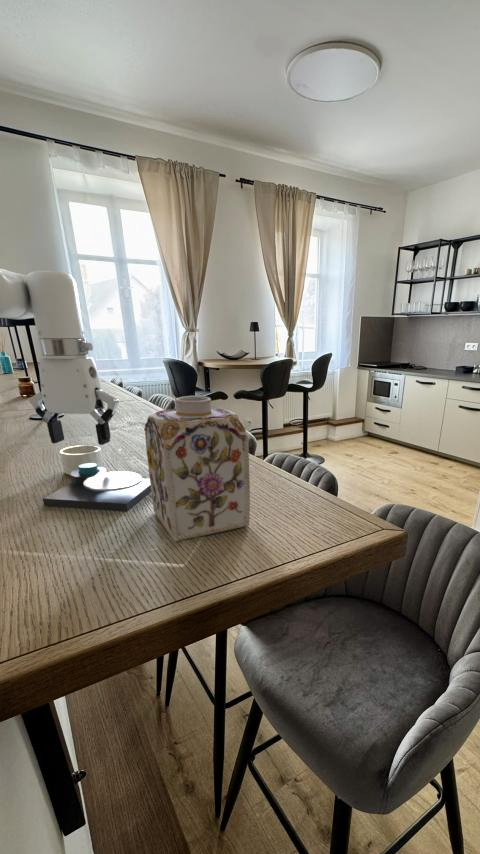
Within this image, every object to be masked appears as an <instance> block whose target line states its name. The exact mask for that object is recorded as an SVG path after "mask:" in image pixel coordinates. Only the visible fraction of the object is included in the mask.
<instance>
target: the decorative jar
mask: <svg viewBox="0 0 480 854" xmlns="http://www.w3.org/2000/svg"><path fill="white" fill-rule="evenodd" d="M143 431H144V437H145V438H144V439H145V450H146V458H147V465H148V466H147V467H148V476H149V479H150V487H151V492H150V495H151V499H152V506H153V507H152V508H153V512H154V514H155V516H156V517H157V519H158V520H159V521H160V522H161V524H162V525H163V527H164V529H165V530H166V532H167V533H168V534H169V536H170V537H171V539H172V541H173V542H175V543H176V542H177V543H178V542H180V541H185V540H188V539H189V540H190V539H194V538H200V537H203V536H208V535H213V534H217V533H222V532H227V531H233V530H236V529H240V528H241V529H242V528H244V527H248V526H249V525H250V518H251V516H250V515H251V501H250V500H251V484H250V483H251V481H250V479H251V477H250V454H249V453H250V449H249V448H250V447H249V434H248V433H247V430H246V427H245V426H244V424H243V423H242V421H241V419H240V417H239V414H237V413H236V412H233V411H231V410H228V409H225V408H224V409H223V408H219V407H212V399H211V397H209V396H202V395H185V396H180V397H177V398H175V408H169V409H162V410H158V411H156V412H154V413H152V414H149V415H148V416H147V419H146V423H145V424H144V428H143Z"/></svg>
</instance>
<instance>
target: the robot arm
mask: <svg viewBox="0 0 480 854" xmlns="http://www.w3.org/2000/svg"><path fill="white" fill-rule="evenodd" d="M80 305H81V304H80V299H79V292H78V287H77V282H76V281H75V279H74V277H73V276H72V275H71V274H69V273H66V272H62V271H55V270H34V271H30V272H29V273H28V274H22V273H18V272H13V271H10V270H7V269H4V268H1V267H0V318H1V319H8V320H27V319H34V324H35V329H36V334H37V339H38V344H39V349H40V354H41V357H39V361H38V362H39V364H38V365H39V368H38V369H39V371H38V372H39V382H40V391H39V392H37V393H36V394H34V395H32V396H30V397H29V399H28V402H29V403H30V404H31V406H32V408H33V409H34V410H35V413H36V414H37V415H38V416H39V417H40V418H41V419H42V421H43V423H45V424H46V427H47V430H48V435H49V438H50V442H51V444H58V443H60V442H62V441H65V435H64V429H63V424H62V421H61V419H59V416H61V414H66V415H67V414H69V415H70V414H71V415H77V414H78V415H90V416H91V417H92V418H93V419H94V420H95V421H96V422H97V424H95V432H96V437H97V443H98V445H99V446H103V445H106V444H108V443H110V441H111V437H112V436H111V429H110V423H109V422H110V421H111V420H112V418H113V417H114V415H115V414H116V413H117V411H116V410H117V408H118V406H119V404H120V403H119V399H118V398H116V397H114V396H112V395H110V394H109V393H107V392H106V391H105V392H104V389H103V385H102V381H101V377H100V373H99V371H98V368H97V365H96V362H95V360H94V357H92V356H91V357H89V351H90V352H91V351H93V348H94V347H93V344H92V343H91V342H87V338H86V336H85V330H84V324H83V318H82V310H81V307H80ZM106 404H107V406H106ZM106 407H107V408H106ZM105 408H106V410H105Z"/></svg>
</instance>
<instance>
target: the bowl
mask: <svg viewBox="0 0 480 854" xmlns="http://www.w3.org/2000/svg"><path fill="white" fill-rule="evenodd" d="M59 456H60V461H61V467H62V472H63V473H64V474H66V475H68V476H70V473H71V472H72V471H74V470H77V469H79V467H78V466H79V465H81V464H86V463H95V464H97V467H102V468H104V463H103V456H102V449H101V447H100V446H97V445H91V444H90V445H89V444H87V445H86V444H85V445H75V446H73V445H72V446H68V447H65V448H63V449H60V450H59Z"/></svg>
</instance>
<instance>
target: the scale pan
mask: <svg viewBox="0 0 480 854" xmlns="http://www.w3.org/2000/svg"><path fill="white" fill-rule="evenodd" d="M142 479H143V478H142V475H140V474H139V473H136V472H133V471H109V472H107V473H103V474H98V475H95V476H92V477H89V478H88V479H86V480H85V481H84V483H83V484H84V487H85V488H86V489H89V490H92V491H117V490H123V489H127V488H131V487H134V486H136V485H138V484H139V483H140V482H141V481H142Z"/></svg>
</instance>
